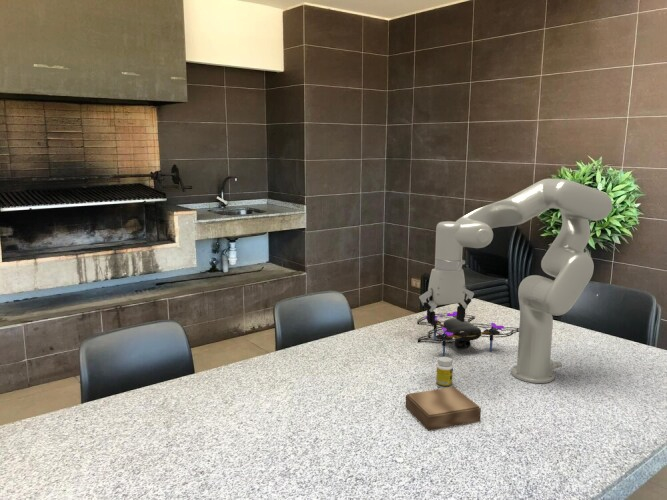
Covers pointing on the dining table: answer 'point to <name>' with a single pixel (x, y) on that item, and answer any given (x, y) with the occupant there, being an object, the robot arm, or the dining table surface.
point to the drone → (461, 331)
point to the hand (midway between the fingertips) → (445, 322)
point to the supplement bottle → (444, 372)
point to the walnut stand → (442, 408)
